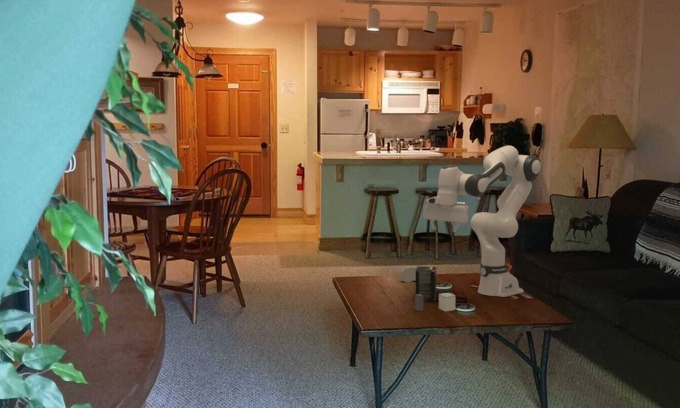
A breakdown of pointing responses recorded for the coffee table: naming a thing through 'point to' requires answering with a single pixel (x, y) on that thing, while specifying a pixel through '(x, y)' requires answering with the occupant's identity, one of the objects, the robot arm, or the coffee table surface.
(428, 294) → the tampon box
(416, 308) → the post
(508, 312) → the coffee table surface
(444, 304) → the white block
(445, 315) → the coffee table surface
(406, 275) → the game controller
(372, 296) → the coffee table surface
